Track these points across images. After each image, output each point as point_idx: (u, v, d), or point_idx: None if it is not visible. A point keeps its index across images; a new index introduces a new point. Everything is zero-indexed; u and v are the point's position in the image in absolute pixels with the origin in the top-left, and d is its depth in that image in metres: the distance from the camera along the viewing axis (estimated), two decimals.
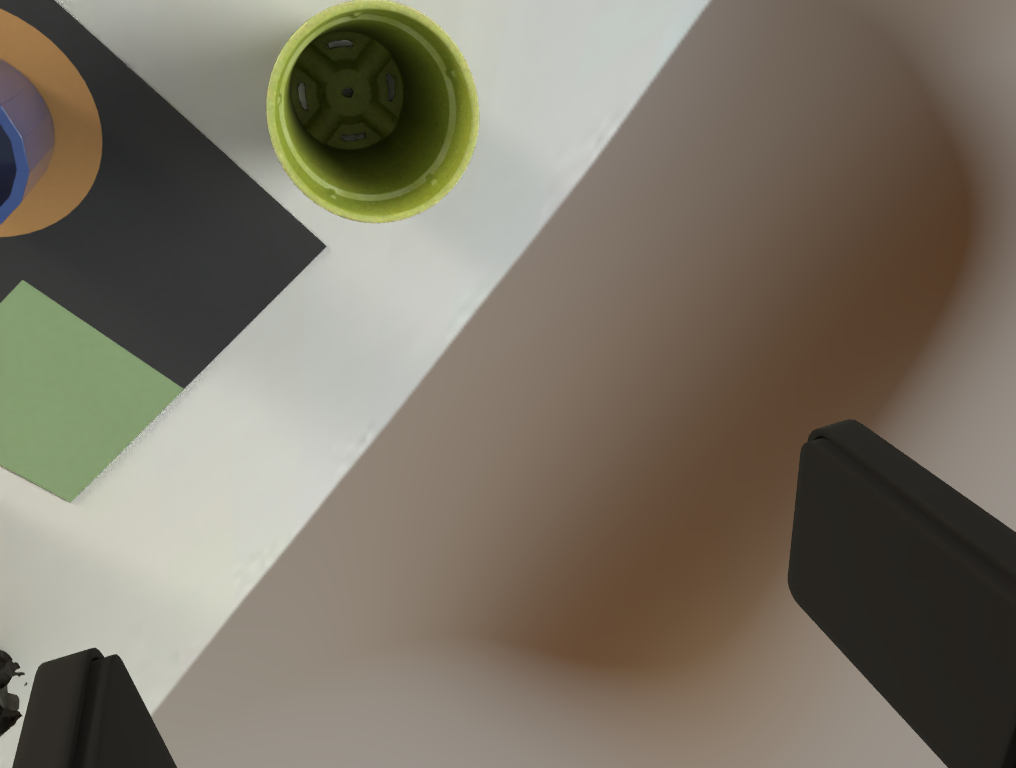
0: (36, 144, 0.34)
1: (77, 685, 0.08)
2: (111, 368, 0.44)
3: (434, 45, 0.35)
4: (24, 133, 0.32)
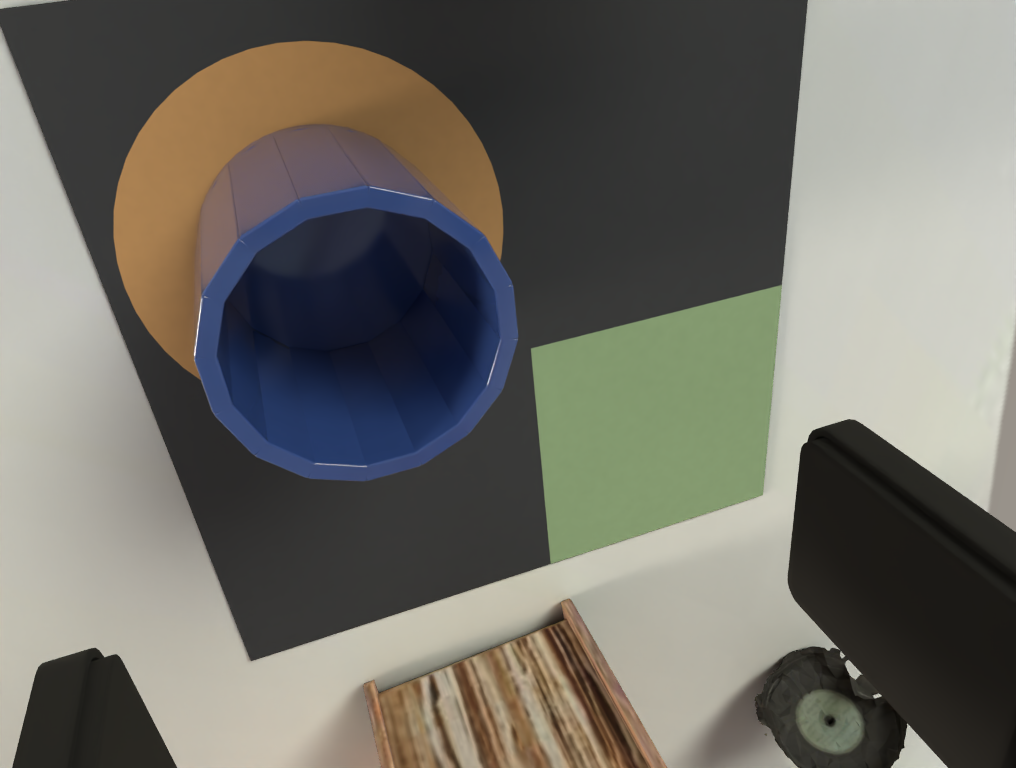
0: (432, 188, 0.18)
1: (77, 685, 0.08)
2: (691, 341, 0.29)
3: None
4: (422, 189, 0.16)
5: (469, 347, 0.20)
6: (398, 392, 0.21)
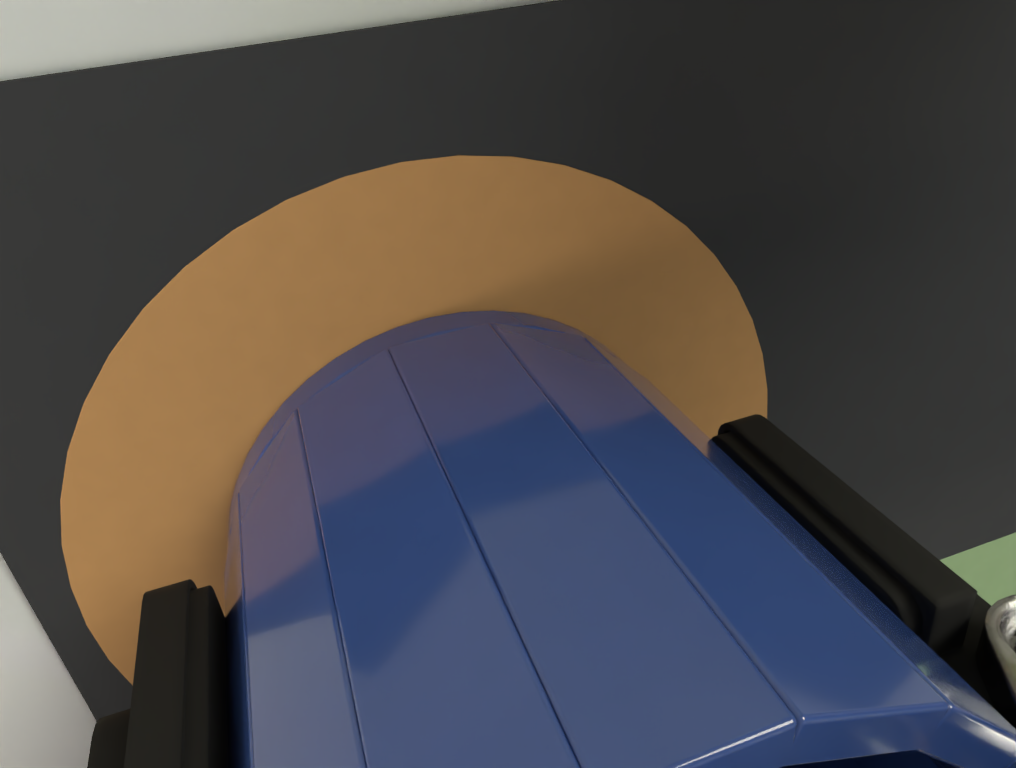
0: (793, 529, 0.08)
1: (182, 609, 0.09)
2: (1001, 578, 0.18)
3: None
4: (873, 634, 0.06)
5: None
6: None
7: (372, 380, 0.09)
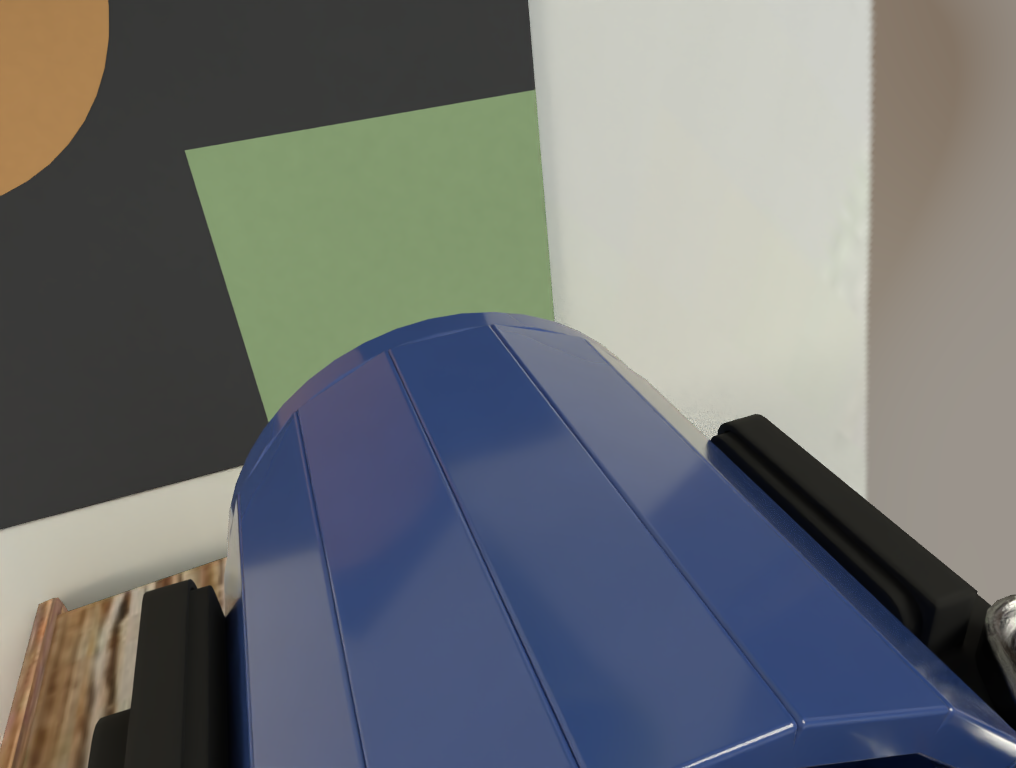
0: (793, 532, 0.08)
1: (182, 609, 0.09)
2: (420, 160, 0.23)
3: None
4: (873, 637, 0.06)
5: None
6: None
7: (372, 382, 0.09)
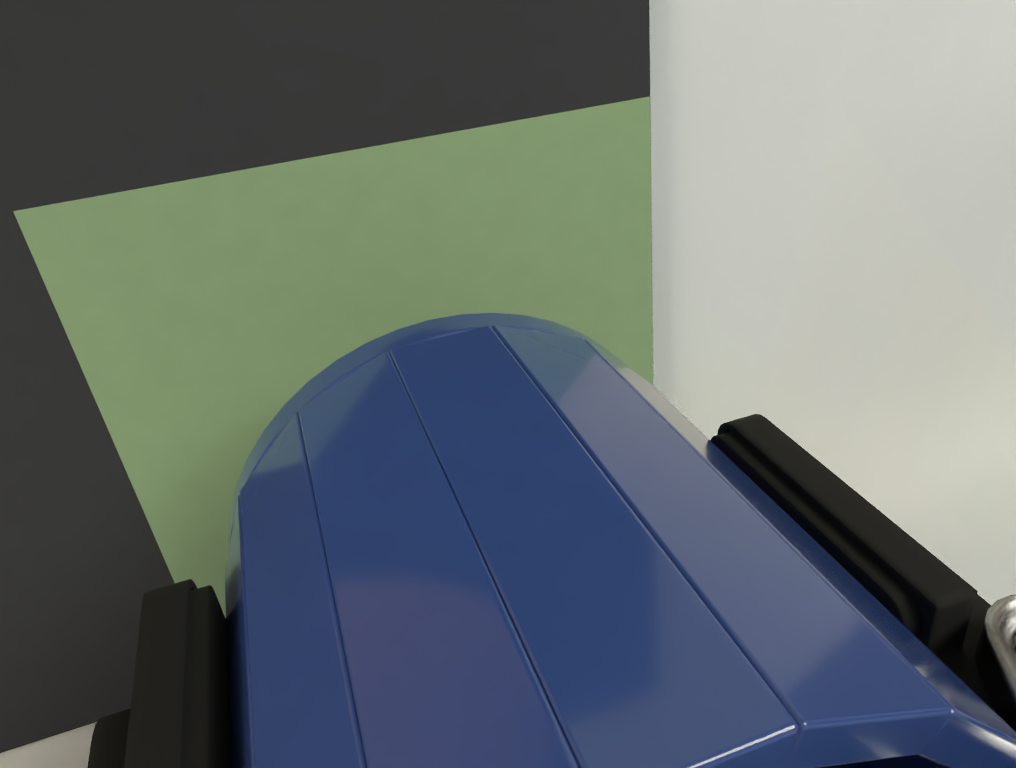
0: (794, 533, 0.08)
1: (182, 609, 0.09)
2: (451, 218, 0.13)
3: None
4: (875, 638, 0.06)
5: None
6: None
7: (373, 383, 0.09)
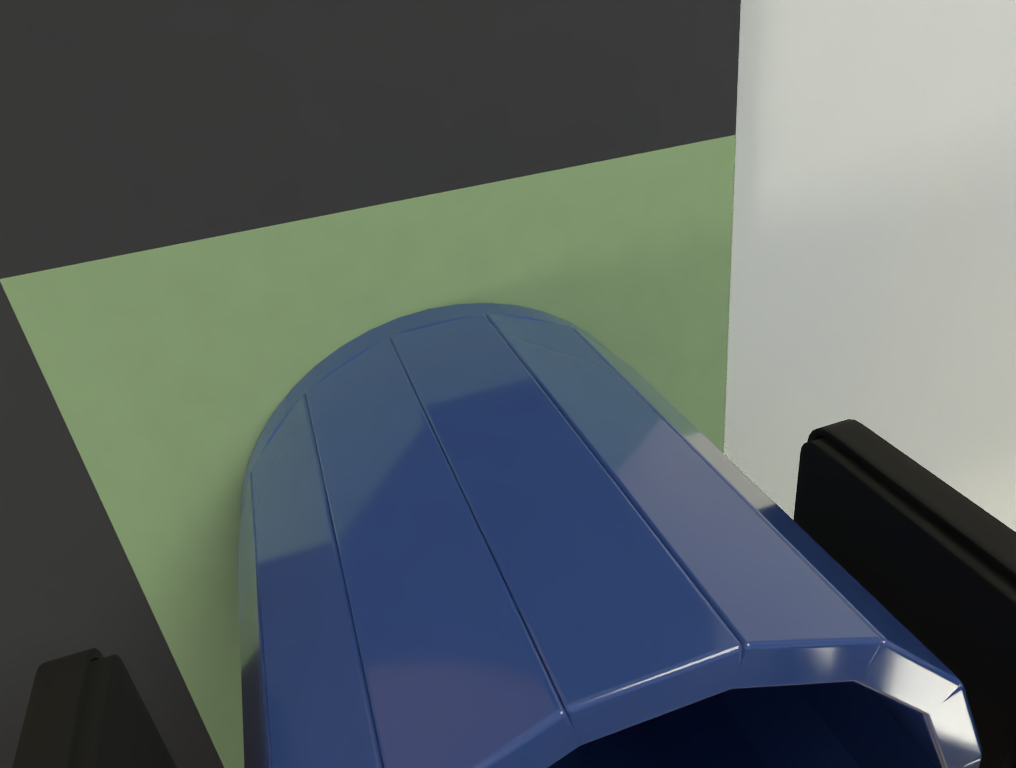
0: (758, 499, 0.08)
1: (77, 685, 0.08)
2: (505, 276, 0.11)
3: None
4: (820, 582, 0.07)
5: None
6: None
7: (375, 365, 0.10)
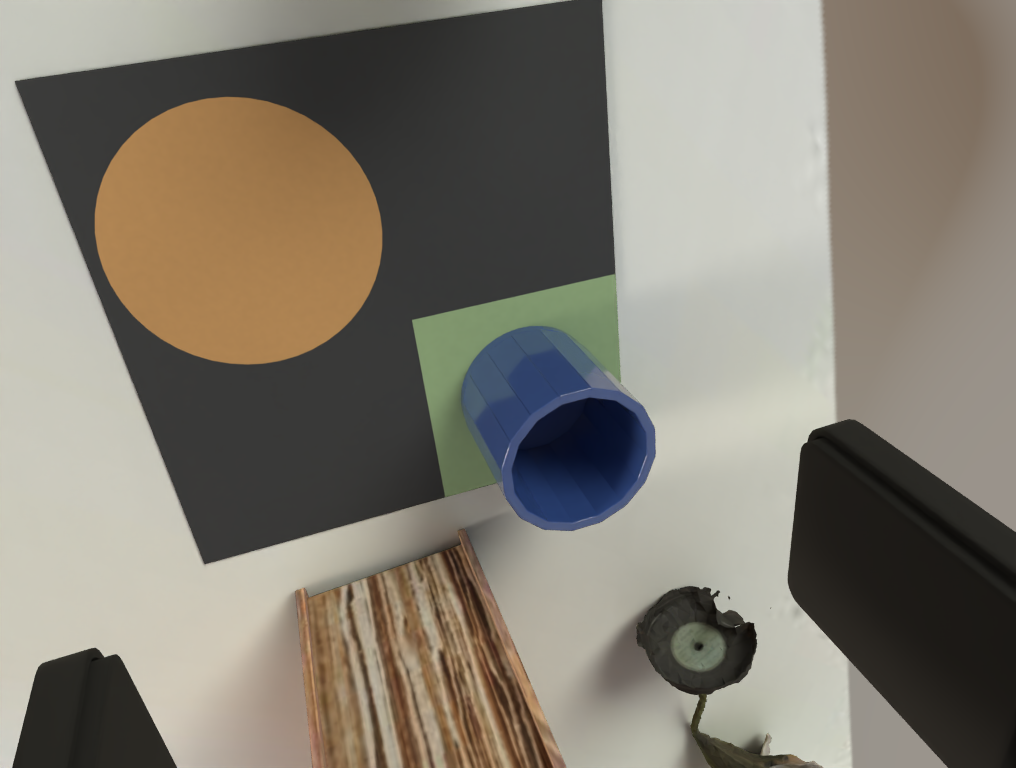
0: (608, 374, 0.34)
1: (78, 685, 0.08)
2: (544, 317, 0.37)
3: None
4: (611, 384, 0.32)
5: (623, 456, 0.35)
6: (578, 479, 0.37)
7: (508, 343, 0.36)
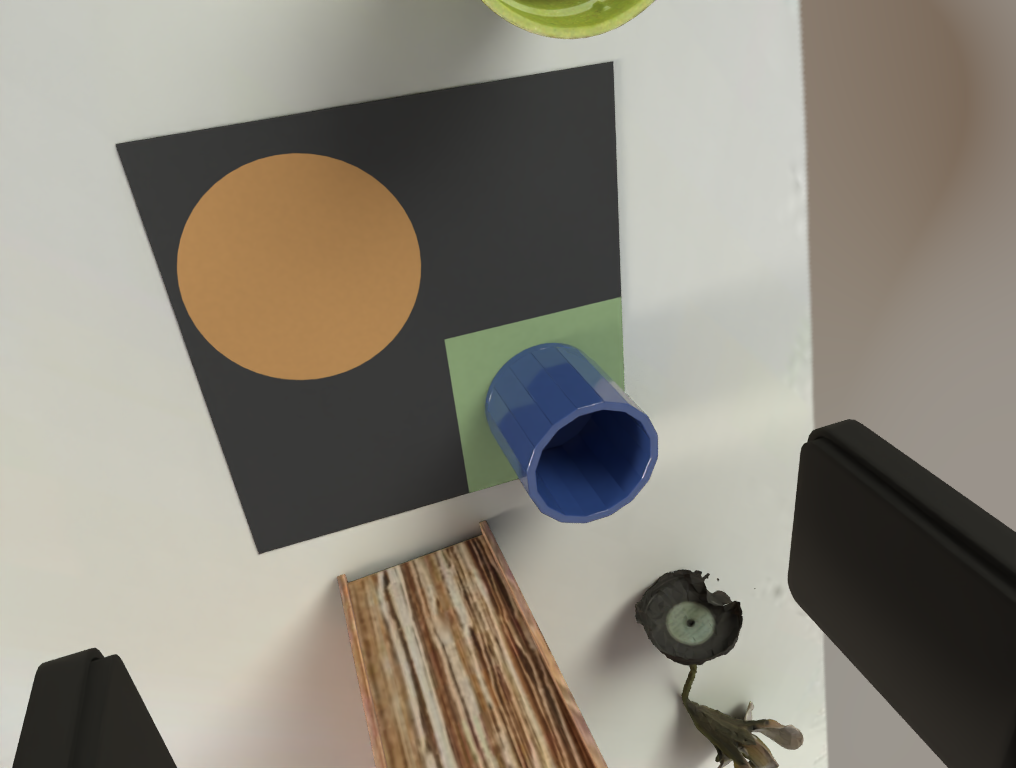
0: (617, 387, 0.39)
1: (78, 685, 0.08)
2: (559, 335, 0.42)
3: None
4: (621, 397, 0.38)
5: (629, 457, 0.41)
6: (589, 477, 0.42)
7: (528, 359, 0.41)
